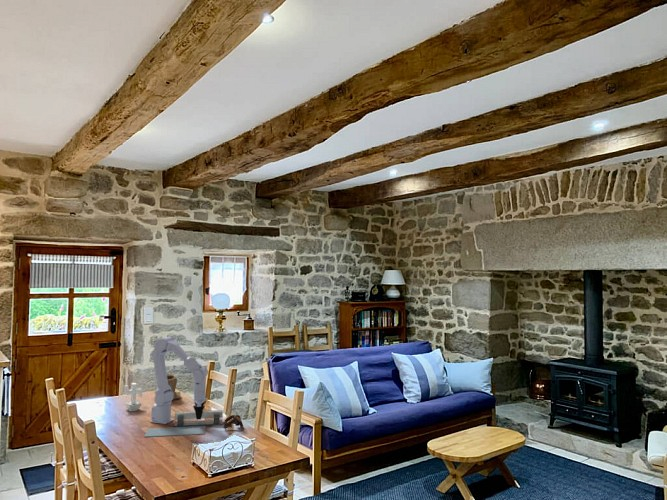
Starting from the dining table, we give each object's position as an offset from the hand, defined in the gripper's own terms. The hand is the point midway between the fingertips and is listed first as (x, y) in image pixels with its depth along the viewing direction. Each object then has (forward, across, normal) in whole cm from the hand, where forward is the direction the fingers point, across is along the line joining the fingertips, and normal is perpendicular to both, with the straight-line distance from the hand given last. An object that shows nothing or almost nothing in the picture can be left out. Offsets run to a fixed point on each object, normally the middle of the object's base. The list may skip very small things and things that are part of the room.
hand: (199, 417), depth 258 cm
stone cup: (+4, +53, +20) cm, 57 cm away
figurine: (+4, +33, +38) cm, 50 cm away
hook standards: (+4, 0, 0) cm, 4 cm away
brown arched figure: (+4, -10, -18) cm, 21 cm away
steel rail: (0, 0, 0) cm, 0 cm away
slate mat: (+4, -10, +10) cm, 15 cm away
